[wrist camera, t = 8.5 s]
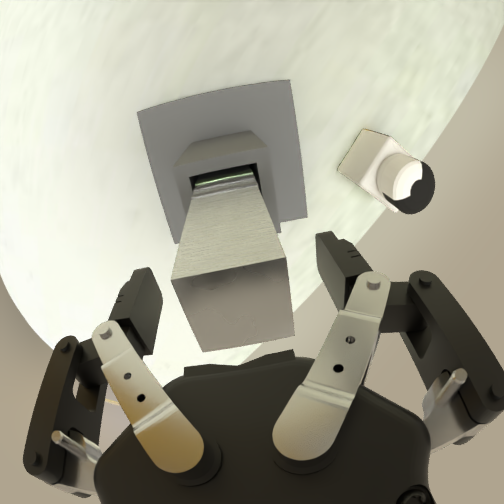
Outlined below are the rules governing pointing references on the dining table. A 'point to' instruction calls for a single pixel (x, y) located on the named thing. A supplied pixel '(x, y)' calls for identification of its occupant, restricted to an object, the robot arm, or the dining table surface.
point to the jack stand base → (227, 147)
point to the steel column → (232, 265)
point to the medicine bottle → (389, 172)
